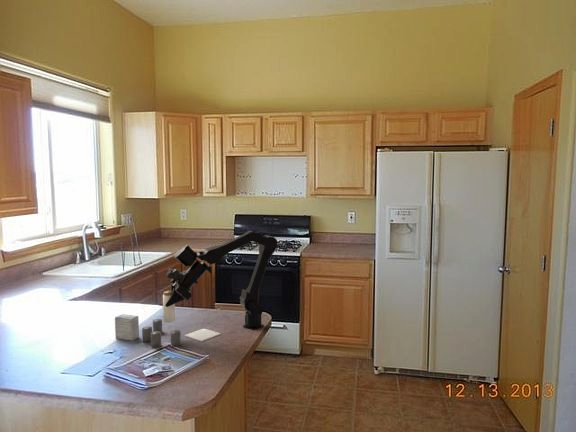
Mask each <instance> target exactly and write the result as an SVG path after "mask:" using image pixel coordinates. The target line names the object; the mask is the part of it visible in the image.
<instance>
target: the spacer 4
mask: <svg viewBox="0 0 576 432" xmlns="http://www.w3.org/2000/svg"><path fill="white" fill-rule="evenodd" d="M181 341H182V338H181V330H179V329H178V330H177V329H175V330H171V331H170V346H171V345H172V346H174V347H173V348H177V347H180V346H181V343H182V342H181ZM172 346H171V347H172Z"/></svg>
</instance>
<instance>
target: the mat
mask: <svg viewBox="0 0 576 432" xmlns="http://www.w3.org/2000/svg"><path fill="white" fill-rule="evenodd" d="M218 336H221V333H220V332H217V331H214V330H210V329H207V328H202V329H198V330H196V331H193V332H190V333H187V334H184V337H186V338H189V339H193V340H195V341H198V342H205V341H207V340H209V339H212V338H215V337H218Z"/></svg>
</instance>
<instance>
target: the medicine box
mask: <svg viewBox="0 0 576 432" xmlns="http://www.w3.org/2000/svg"><path fill="white" fill-rule="evenodd" d="M139 324H140V323H139V315H132V314H126V313H123V314H122V313H121V314H119V315H117V316H115V317H114V326H115V327H114V331H115V339H118V340H126V341H134V340H136V339H138V338H139V337H140V325H139Z"/></svg>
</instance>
